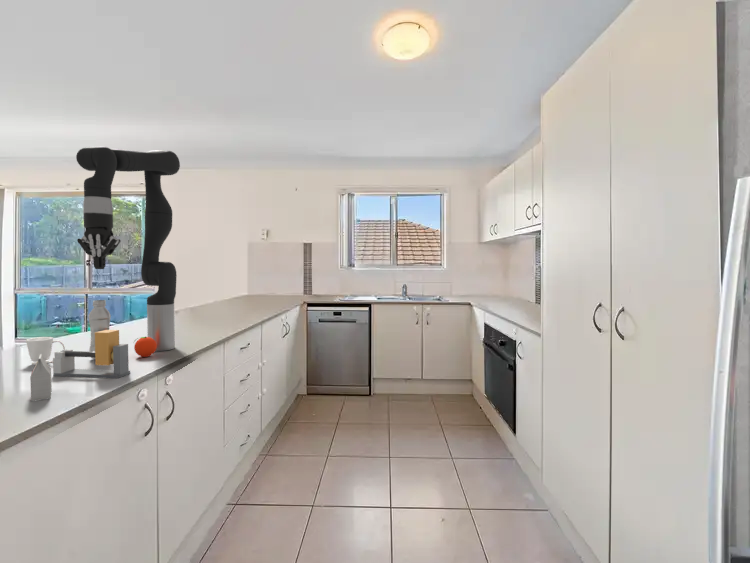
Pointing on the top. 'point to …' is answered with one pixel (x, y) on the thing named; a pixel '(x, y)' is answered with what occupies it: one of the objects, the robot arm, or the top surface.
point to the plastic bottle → (98, 321)
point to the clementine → (145, 346)
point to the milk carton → (41, 380)
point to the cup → (40, 348)
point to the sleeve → (105, 346)
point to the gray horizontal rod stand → (66, 367)
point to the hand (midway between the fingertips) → (99, 269)
